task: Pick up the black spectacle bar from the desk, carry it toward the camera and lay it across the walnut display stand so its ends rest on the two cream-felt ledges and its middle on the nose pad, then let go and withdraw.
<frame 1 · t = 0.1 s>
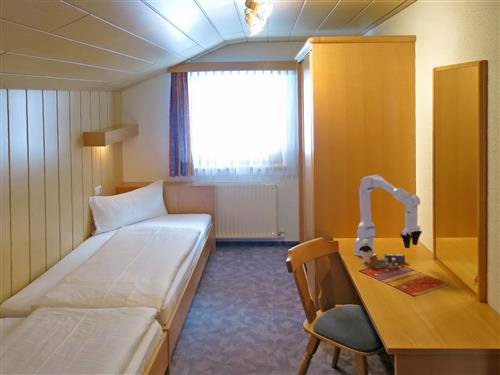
hand: (411, 246, 265), 10 cm above the table, fingers open, 7 cm apart
display stand: (386, 266, 267), on the table
grandmother figurine: (365, 263, 274), on the table
spectacle bar: (394, 262, 273), on the table
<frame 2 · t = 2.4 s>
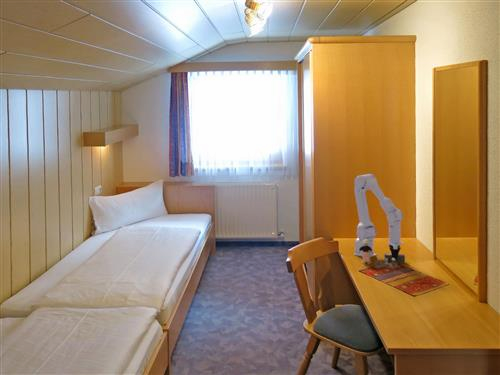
hand: (394, 259, 273), 2 cm above the table, fingers closed on spectacle bar, 3 cm apart
spectacle bar: (394, 262, 273), on the table, touching gripper
everything else where it was.
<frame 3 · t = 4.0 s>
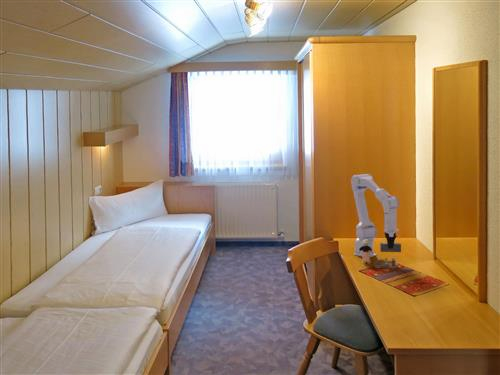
hand: (390, 247, 268), 9 cm above the table, fingers closed on spectacle bar, 3 cm apart
spectacle bar: (390, 251, 269), point 7 cm above the table, touching gripper
everything else where it was.
when the fingers open (7 cm above the table, at t = 5.5 s): spectacle bar stays where it is, resting on display stand.
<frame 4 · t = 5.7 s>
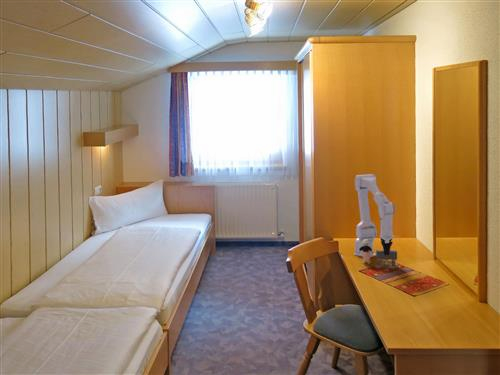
hand: (386, 253, 266), 7 cm above the table, fingers open, 4 cm apart
spectacle bar: (386, 258, 266), point 4 cm above the table, touching display stand
everything else where it was.
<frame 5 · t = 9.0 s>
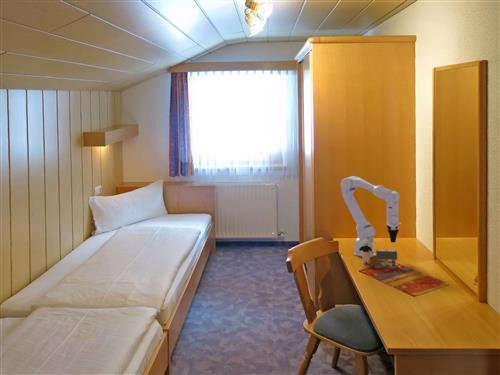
hand: (392, 240, 276), 10 cm above the table, fingers open, 7 cm apart
nothing on the table moved.
at the end: spectacle bar 0.1 cm off-centre on the display stand, point 4.0 cm above the display stand's base; spectacle bar tilted 0°; the gripper is holding nothing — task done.
